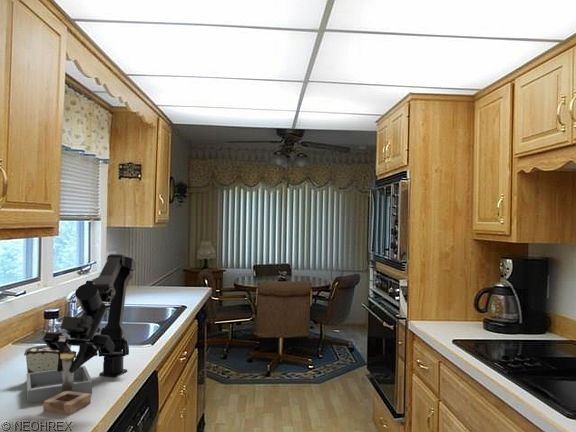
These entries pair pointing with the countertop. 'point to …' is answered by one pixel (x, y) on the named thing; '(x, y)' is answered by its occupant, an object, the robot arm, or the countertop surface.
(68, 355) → the pin
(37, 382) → the tray
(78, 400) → the socket block
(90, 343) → the robot arm
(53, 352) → the food container
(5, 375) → the countertop surface
